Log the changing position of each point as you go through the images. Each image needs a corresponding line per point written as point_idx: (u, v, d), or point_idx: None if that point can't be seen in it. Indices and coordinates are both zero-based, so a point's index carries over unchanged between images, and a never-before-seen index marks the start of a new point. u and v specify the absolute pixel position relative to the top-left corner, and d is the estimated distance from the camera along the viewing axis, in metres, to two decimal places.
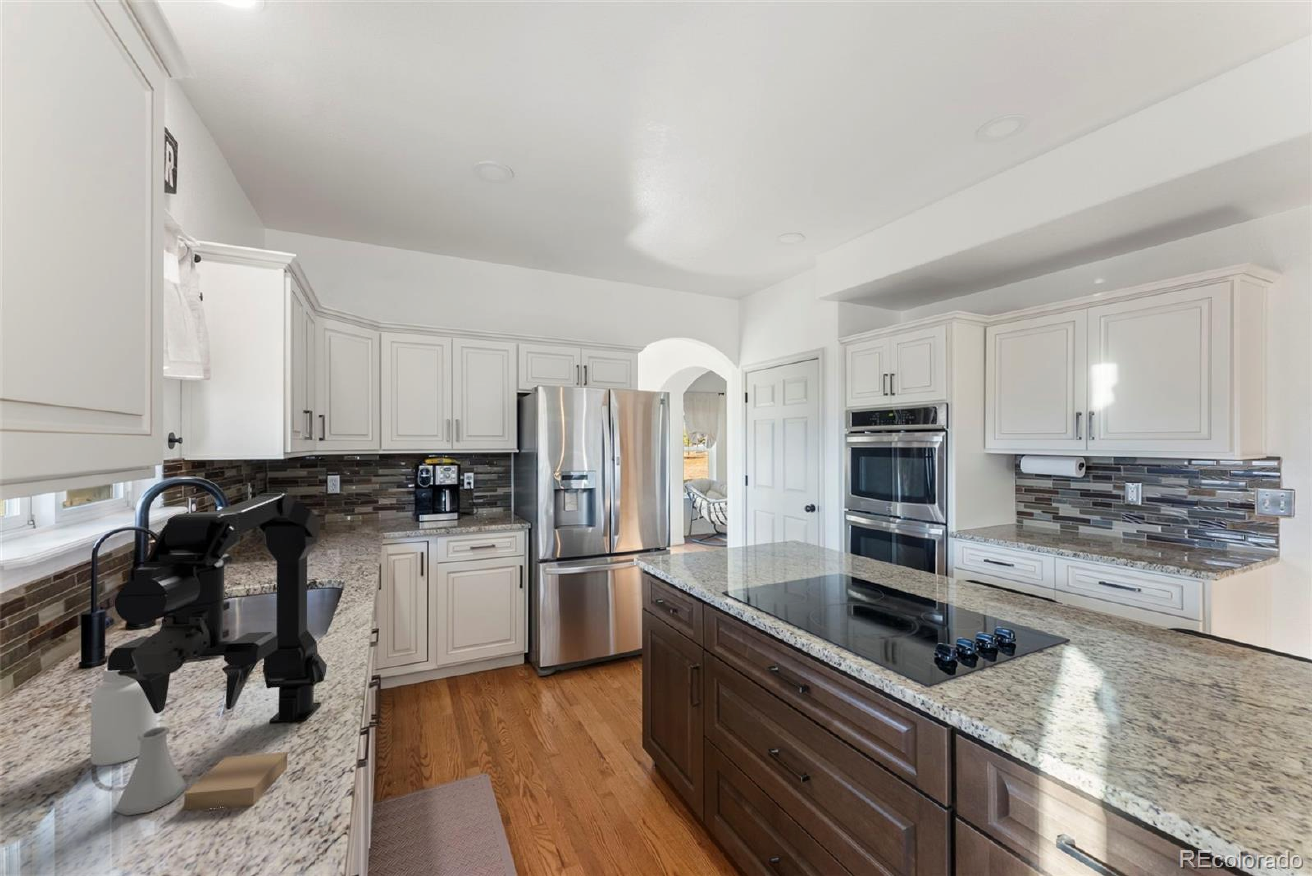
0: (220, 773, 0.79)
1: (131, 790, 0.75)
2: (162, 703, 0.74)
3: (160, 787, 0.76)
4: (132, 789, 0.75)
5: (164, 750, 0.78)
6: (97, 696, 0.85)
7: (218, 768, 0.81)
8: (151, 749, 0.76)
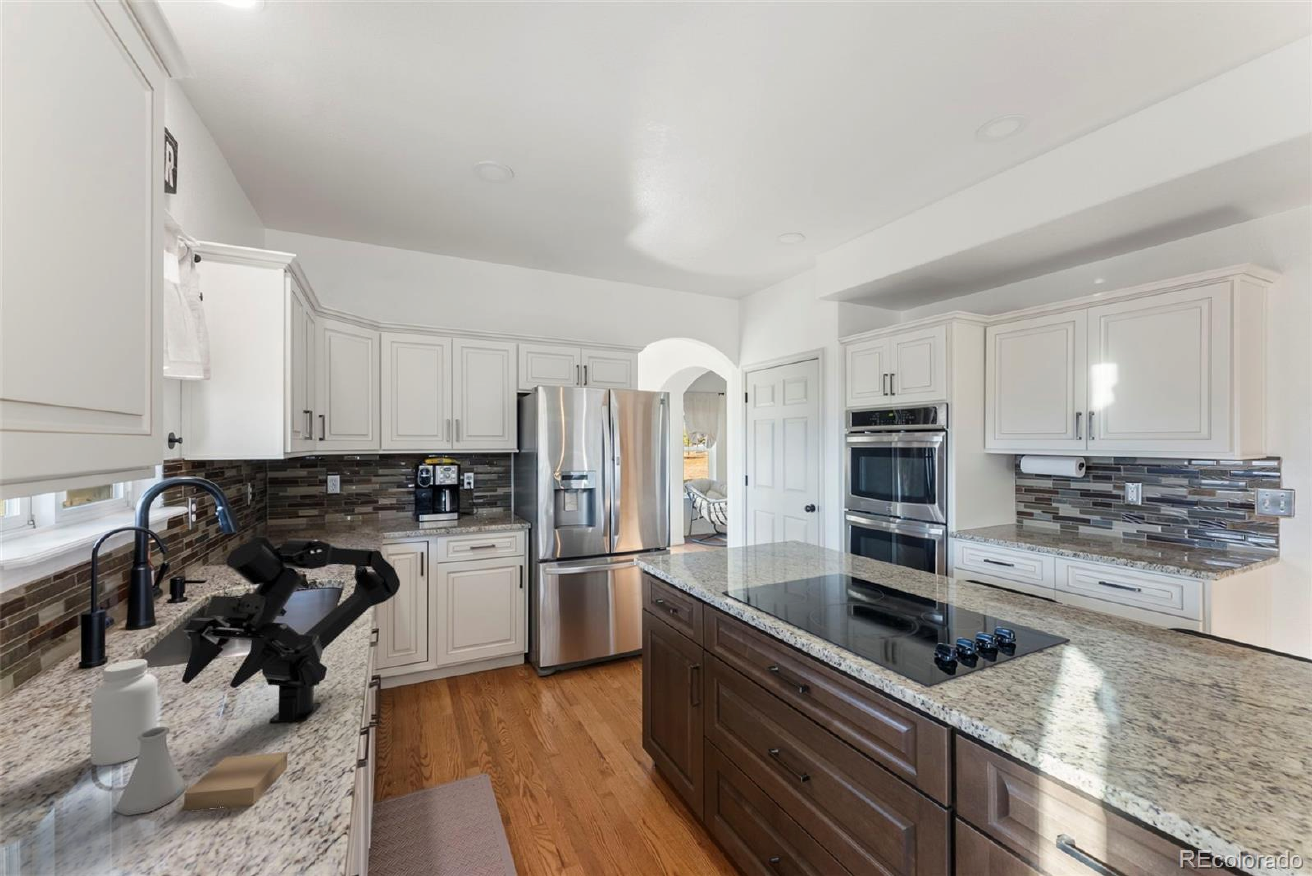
0: (220, 773, 0.79)
1: (131, 791, 0.75)
2: (191, 676, 0.87)
3: (160, 787, 0.76)
4: (132, 789, 0.75)
5: (164, 750, 0.78)
6: (97, 696, 0.85)
7: (218, 768, 0.81)
8: (151, 749, 0.76)
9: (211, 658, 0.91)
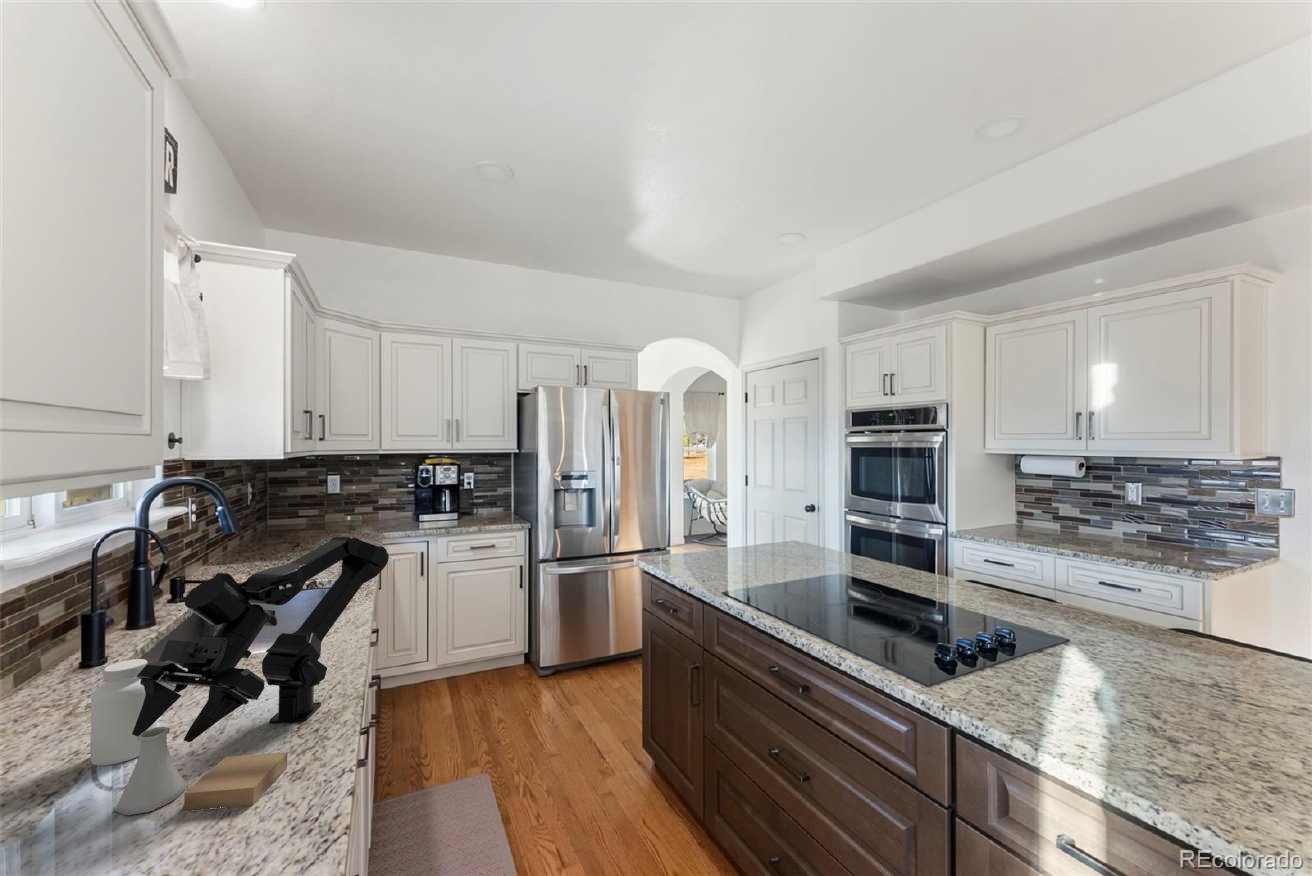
0: (220, 773, 0.79)
1: (132, 790, 0.75)
2: (143, 728, 0.80)
3: (160, 787, 0.76)
4: (132, 789, 0.75)
5: (164, 750, 0.78)
6: (97, 696, 0.85)
7: (218, 768, 0.81)
8: (151, 749, 0.76)
9: (167, 706, 0.84)
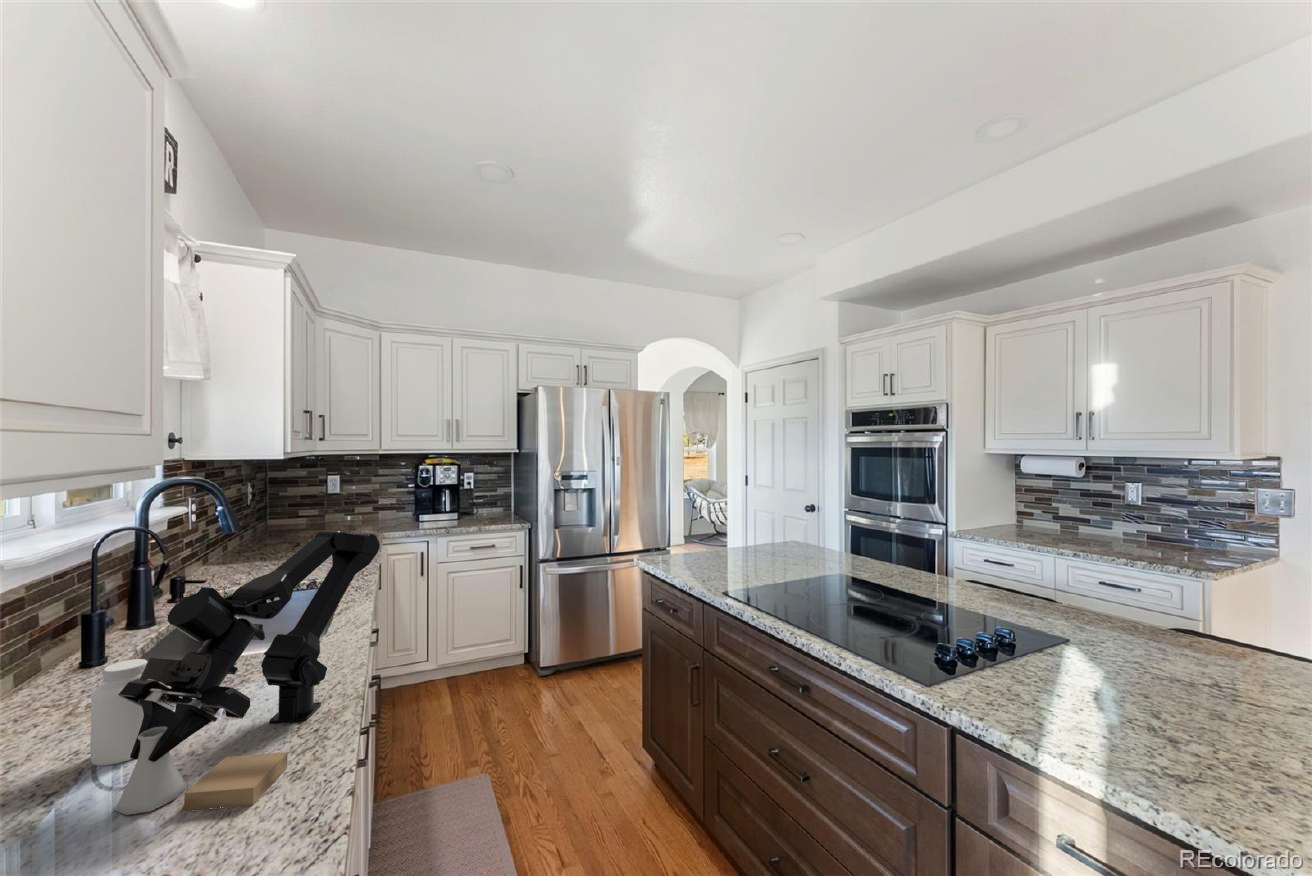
0: (220, 773, 0.79)
1: (131, 790, 0.75)
2: None
3: (160, 787, 0.76)
4: (132, 789, 0.75)
5: None
6: (97, 696, 0.85)
7: (218, 768, 0.81)
8: (151, 748, 0.76)
9: None
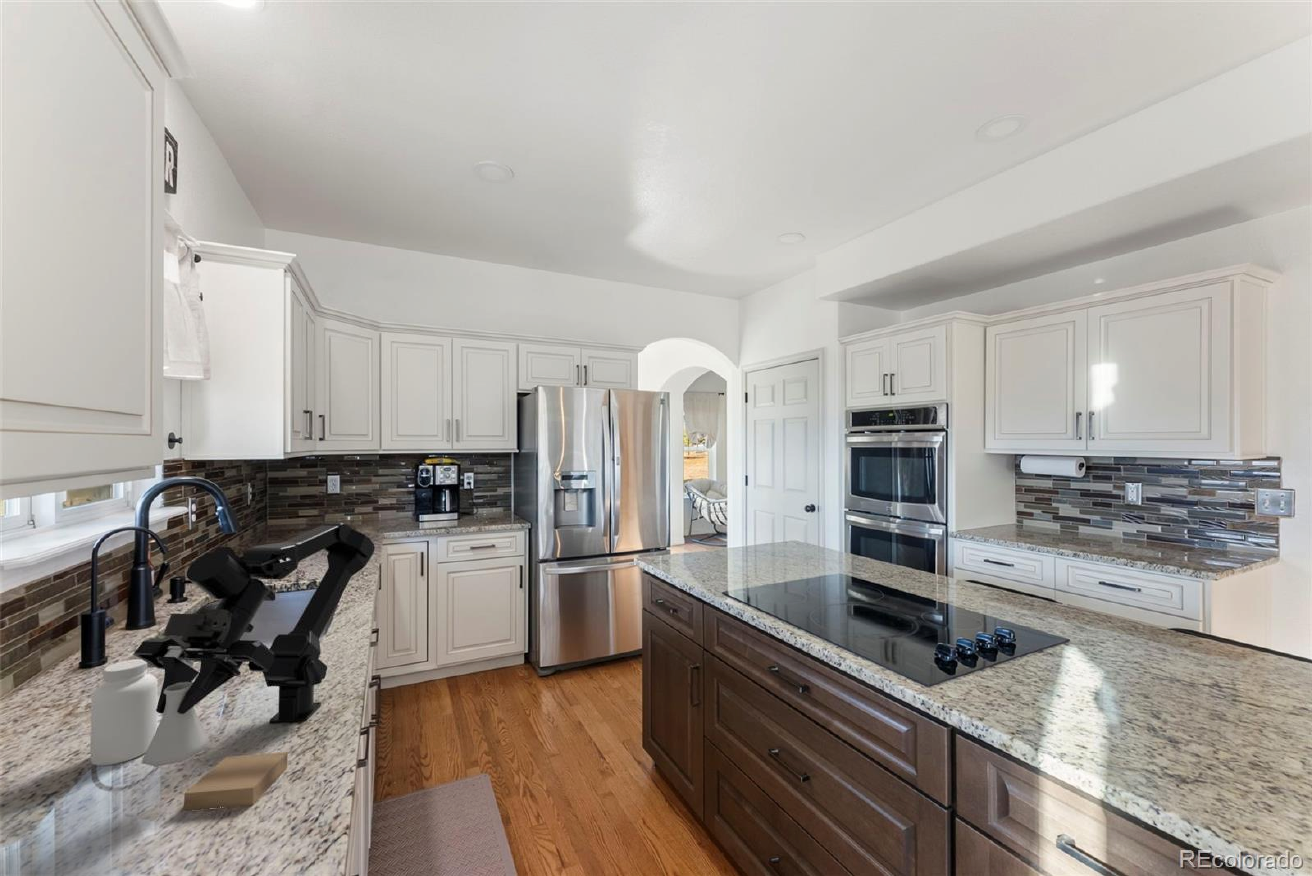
0: (220, 773, 0.79)
1: (159, 743, 0.75)
2: None
3: (188, 739, 0.77)
4: (160, 742, 0.75)
5: None
6: (97, 696, 0.85)
7: (218, 768, 0.81)
8: (178, 702, 0.77)
9: None
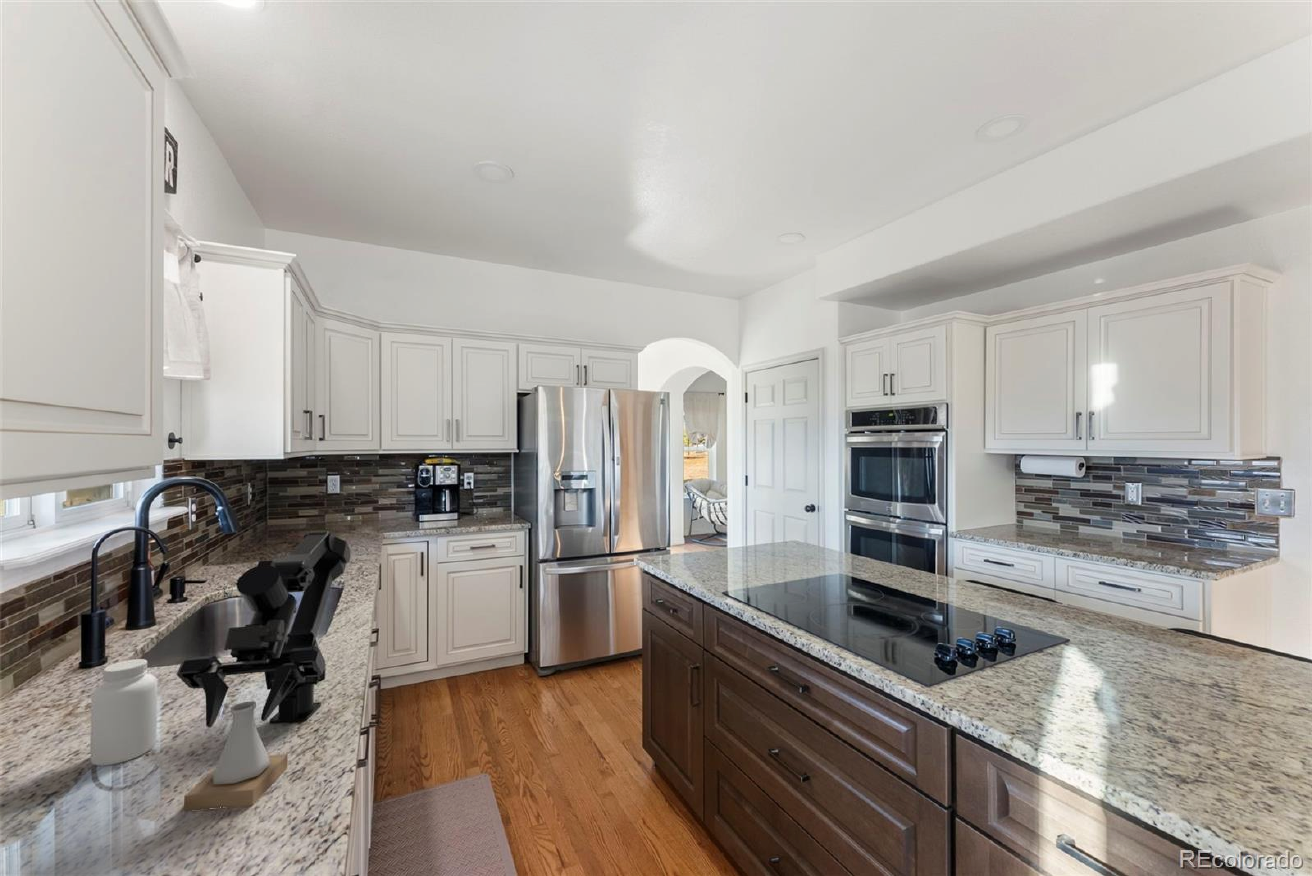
0: None
1: (232, 761, 0.78)
2: (213, 719, 0.79)
3: (259, 754, 0.80)
4: (233, 760, 0.78)
5: None
6: (97, 696, 0.85)
7: None
8: (247, 720, 0.80)
9: (222, 698, 0.82)
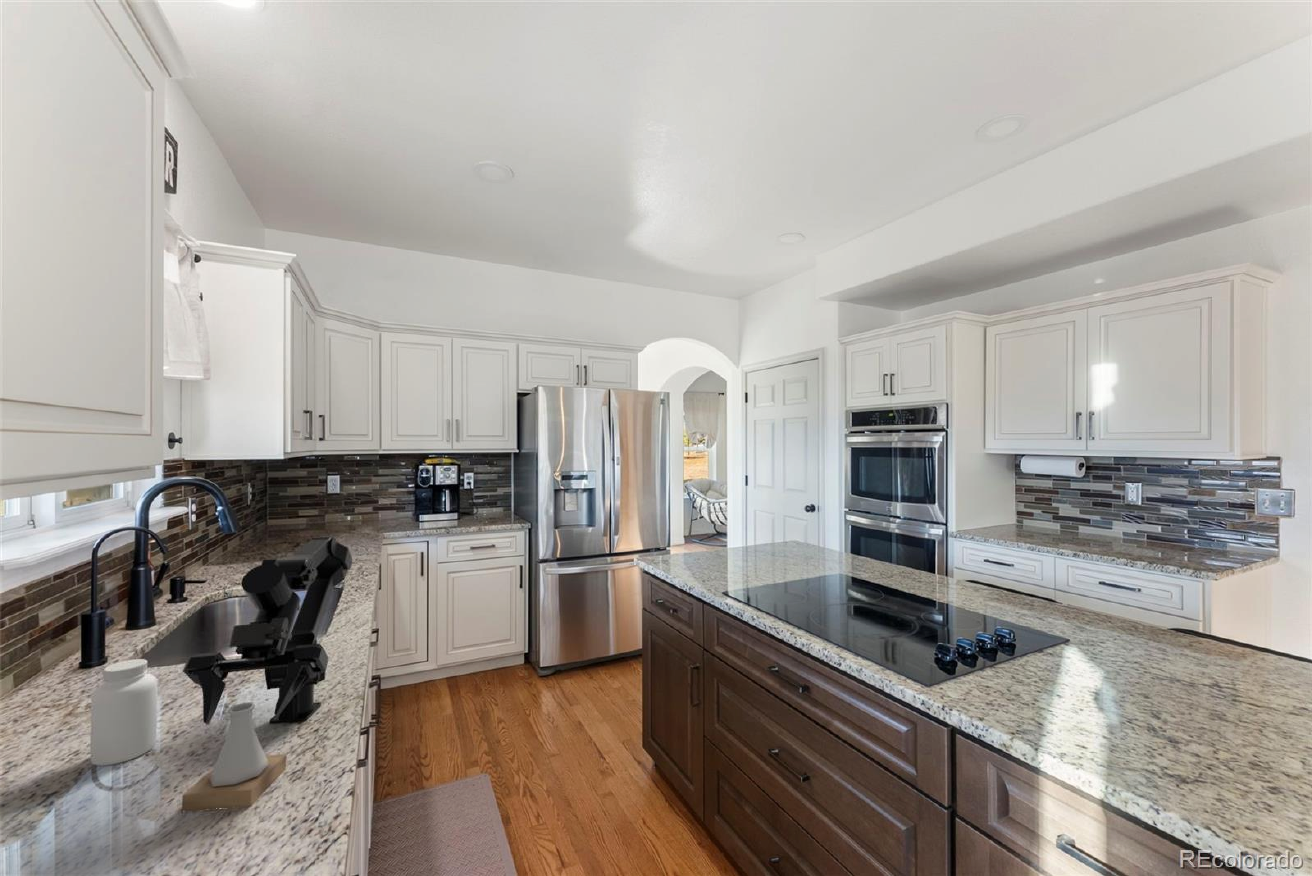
0: None
1: (232, 762, 0.77)
2: (211, 715, 0.80)
3: (258, 754, 0.80)
4: (233, 761, 0.77)
5: (252, 722, 0.81)
6: (97, 696, 0.85)
7: None
8: (246, 721, 0.79)
9: (219, 695, 0.83)
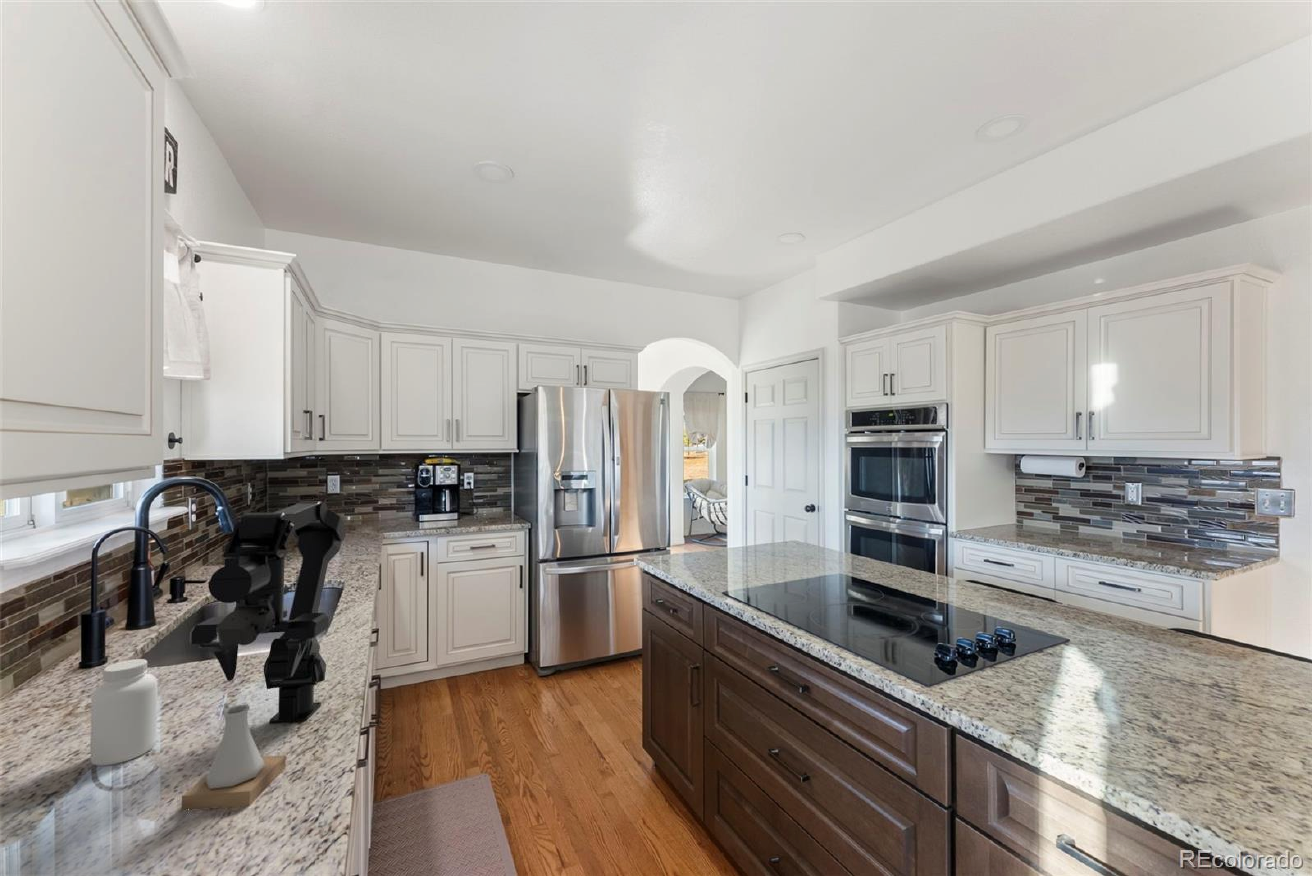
0: None
1: (228, 765, 0.77)
2: (233, 672, 0.88)
3: (254, 756, 0.80)
4: (229, 763, 0.77)
5: (247, 724, 0.81)
6: (97, 696, 0.85)
7: None
8: (241, 723, 0.79)
9: (236, 647, 0.90)
